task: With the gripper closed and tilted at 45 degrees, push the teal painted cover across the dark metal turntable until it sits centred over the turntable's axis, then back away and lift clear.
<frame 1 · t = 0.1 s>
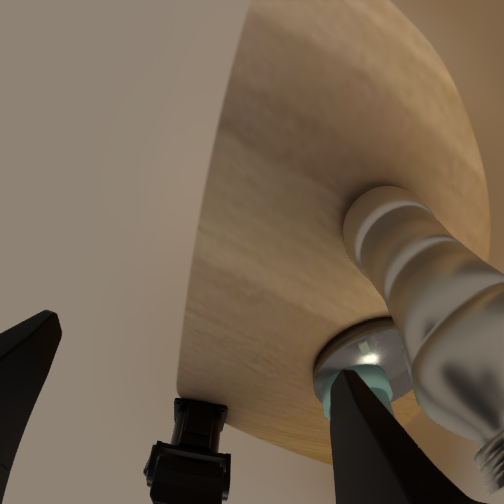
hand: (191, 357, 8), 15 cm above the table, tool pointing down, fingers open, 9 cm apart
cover: (354, 386, 27), point 2 cm above the table, touching turntable
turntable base: (371, 361, 29), on the table
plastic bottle: (376, 218, 22), on the table
turntable: (375, 374, 27), point 2 cm above the table, hinge at 0.0°, touching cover
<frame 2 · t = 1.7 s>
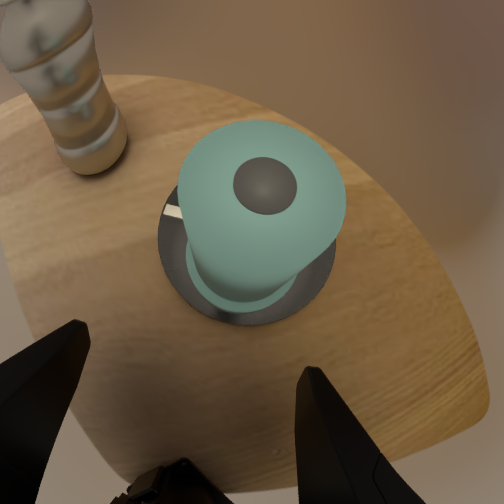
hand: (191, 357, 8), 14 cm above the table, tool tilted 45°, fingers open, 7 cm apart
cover: (240, 263, 21), point 2 cm above the table, touching turntable
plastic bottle: (100, 153, 25), on the table
turntable: (248, 233, 22), point 2 cm above the table, hinge at 0.0°, touching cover
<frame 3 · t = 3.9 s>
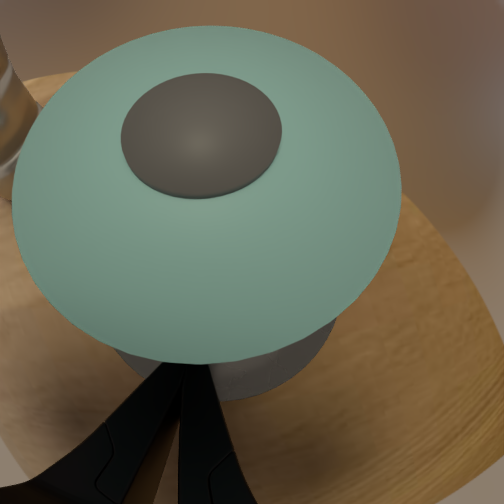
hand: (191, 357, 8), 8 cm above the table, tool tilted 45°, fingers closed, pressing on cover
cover: (211, 283, 14), point 2 cm above the table, touching gripper
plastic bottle: (34, 170, 18), on the table
turntable: (216, 268, 15), point 2 cm above the table, hinge at 0.0°
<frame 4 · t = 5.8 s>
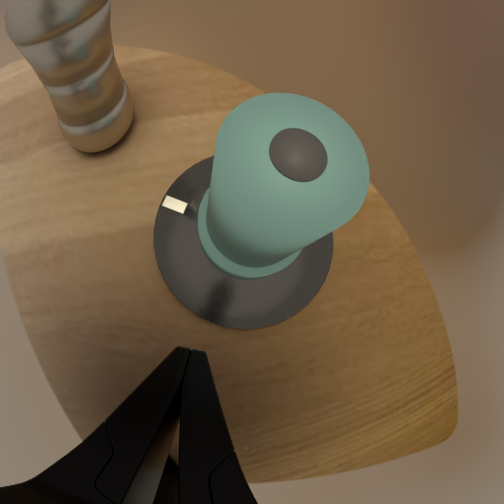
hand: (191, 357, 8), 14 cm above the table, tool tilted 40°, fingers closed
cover: (248, 229, 21), point 2 cm above the table, touching turntable
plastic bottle: (103, 130, 23), on the table
turntable: (246, 235, 21), point 2 cm above the table, hinge at 0.0°, touching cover
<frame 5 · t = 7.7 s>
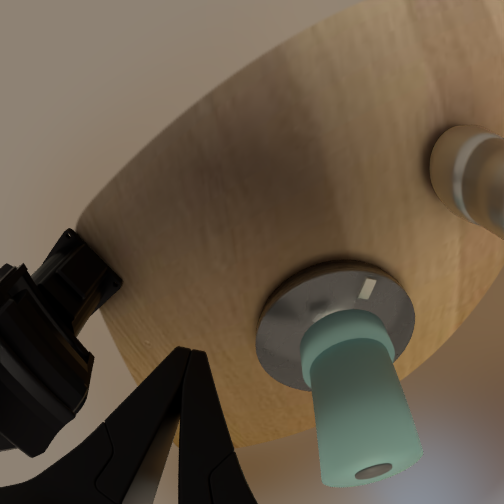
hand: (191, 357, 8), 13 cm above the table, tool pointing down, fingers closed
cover: (343, 343, 22), point 2 cm above the table, touching turntable
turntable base: (333, 324, 24), on the table
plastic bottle: (453, 163, 18), on the table
turntable: (338, 340, 22), point 2 cm above the table, hinge at 0.0°, touching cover
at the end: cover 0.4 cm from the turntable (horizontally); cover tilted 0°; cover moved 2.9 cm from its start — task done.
